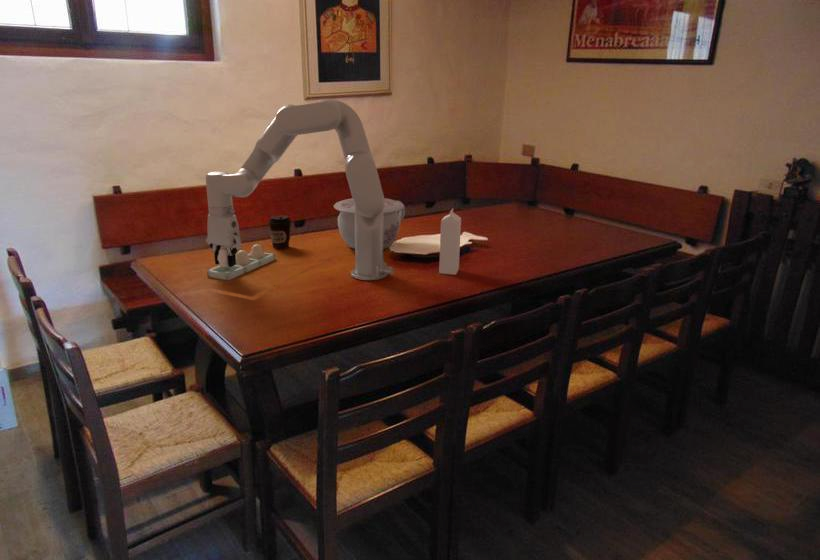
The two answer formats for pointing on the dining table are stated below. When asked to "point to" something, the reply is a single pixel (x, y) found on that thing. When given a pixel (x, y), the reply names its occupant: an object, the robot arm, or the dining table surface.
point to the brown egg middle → (242, 258)
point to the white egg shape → (223, 257)
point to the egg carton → (239, 268)
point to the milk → (450, 244)
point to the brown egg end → (256, 252)
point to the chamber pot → (389, 220)
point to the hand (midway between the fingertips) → (225, 264)
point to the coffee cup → (280, 231)
